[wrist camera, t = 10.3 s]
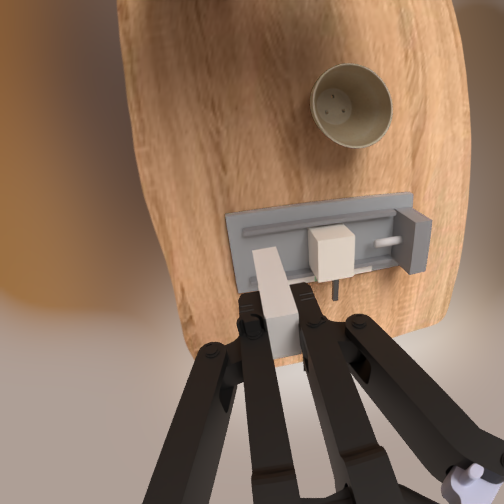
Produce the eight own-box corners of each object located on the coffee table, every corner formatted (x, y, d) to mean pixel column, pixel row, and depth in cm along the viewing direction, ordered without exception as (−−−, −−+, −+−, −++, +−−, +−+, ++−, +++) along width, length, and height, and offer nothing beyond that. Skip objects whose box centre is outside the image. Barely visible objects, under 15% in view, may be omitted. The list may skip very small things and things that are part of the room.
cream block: (307, 226, 41) (317, 241, 36) (341, 221, 41) (355, 235, 37) (309, 285, 45) (318, 304, 41) (340, 279, 45) (352, 297, 41)
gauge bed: (225, 213, 40) (225, 233, 34) (409, 191, 41) (436, 206, 35) (237, 289, 46) (240, 318, 39) (403, 260, 46) (425, 282, 40)
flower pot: (360, 149, 38) (384, 157, 32) (291, 134, 37) (305, 138, 30) (372, 82, 34) (399, 79, 27) (303, 62, 32) (320, 52, 26)
